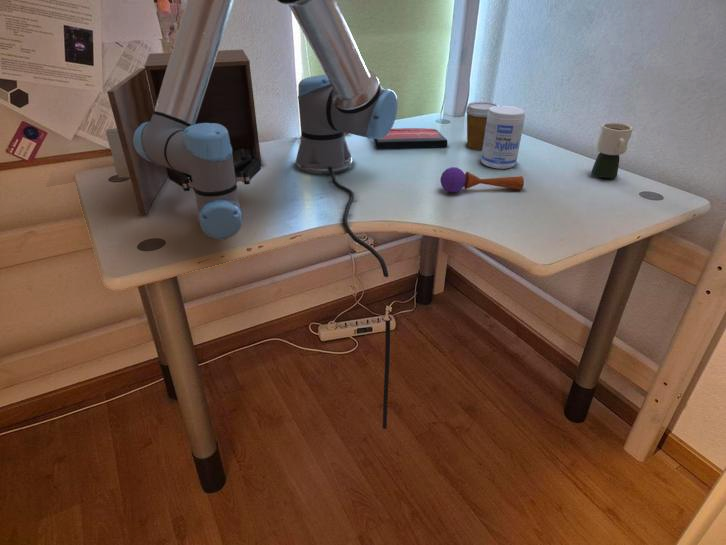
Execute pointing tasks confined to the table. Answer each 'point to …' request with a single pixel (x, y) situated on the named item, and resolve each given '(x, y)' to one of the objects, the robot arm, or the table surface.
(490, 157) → the supplement tub
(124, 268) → the table surface
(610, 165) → the character mug
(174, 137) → the robot arm
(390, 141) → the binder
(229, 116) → the cupboard
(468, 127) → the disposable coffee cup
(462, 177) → the kendama
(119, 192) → the table surface
